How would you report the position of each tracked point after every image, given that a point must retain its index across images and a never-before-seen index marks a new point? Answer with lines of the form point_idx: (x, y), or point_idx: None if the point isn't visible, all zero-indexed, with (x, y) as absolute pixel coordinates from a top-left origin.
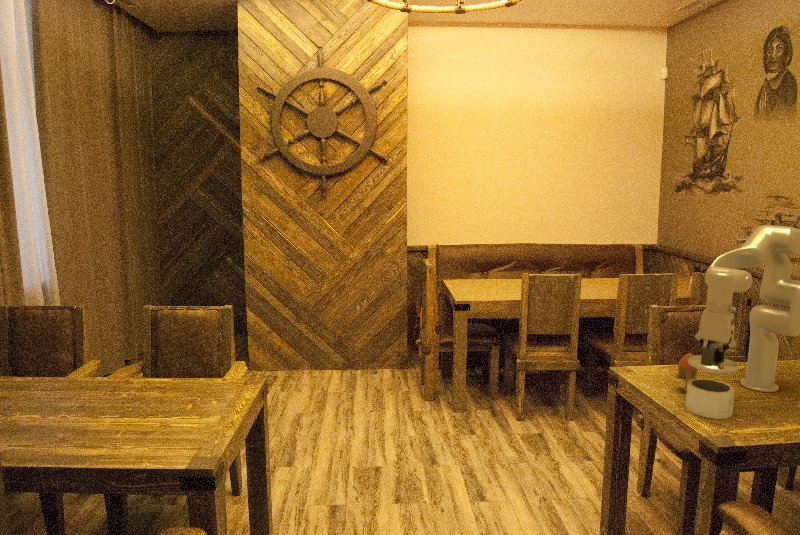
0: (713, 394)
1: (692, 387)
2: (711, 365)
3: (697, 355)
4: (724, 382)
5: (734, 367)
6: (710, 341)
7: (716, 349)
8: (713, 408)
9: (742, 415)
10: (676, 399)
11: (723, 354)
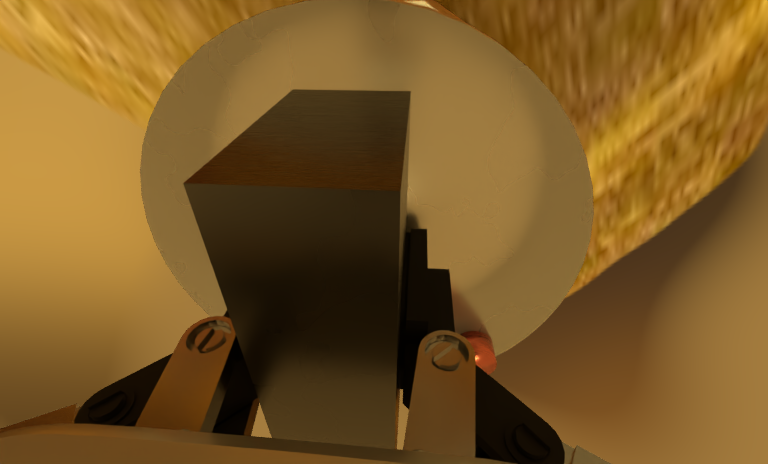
0: None
1: None
2: None
3: (146, 159)
4: (418, 2)
5: (562, 260)
6: (214, 417)
7: (395, 442)
8: None
9: (535, 29)
10: None
11: (452, 324)
